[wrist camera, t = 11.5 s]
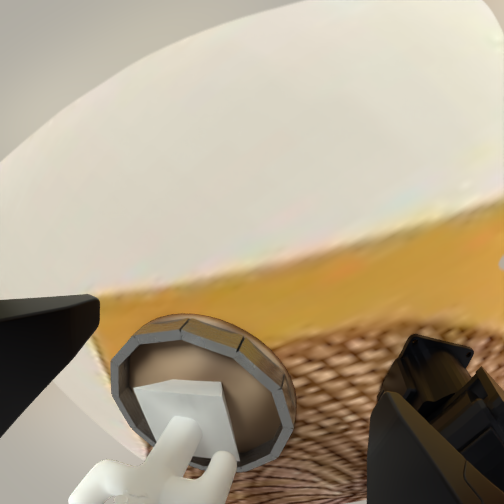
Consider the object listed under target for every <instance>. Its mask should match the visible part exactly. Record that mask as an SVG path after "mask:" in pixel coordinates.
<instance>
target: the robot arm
mask: <svg viewBox="0 0 504 504" xmlns="http://www.w3.org/2000/svg"><path fill="white" fill-rule="evenodd" d="M99 321H100V301H99V299H98V298H96V297H94V296H92V295H89V294H83V295H70V296H56V297H41V298H26V299H9V300H0V438H1V437H2V435H3V434H4V433H5V432H6V431H7V430H8V429H9V427H10V426H11V425H12V424H13V423H14V422H15V421H16V419H17V418H18V417H19V416H20V415H21V414H22V413H23V412H24V410H25V409H26V408H27V407H28V406H29V405H30V404H31V403H32V402H33V401H34V400H35V398H36V397H37V396H38V395H39V394H40V393H41V392H42V391H43V390H44V389H45V388H46V387H47V385H49V383H50V382H51V381H52V380H53V379H54V378H55V377H56V376H57V375H58V374H59V373H60V372H61V371H62V370H63V369H64V368H65V367H66V366H67V365H68V364H69V363H70V361H71V360H72V359H73V358H74V357H75V356H76V354H77V353H78V352H79V351H80V349H81V348H82V347H83V345H84V344H85V343H86V342H87V340H88V339H89V338H90V337H91V335H92V334H93V333H94V331H95V330H96V329H97V327H98V325H99ZM415 339H417V340H416V342H414V343H412V341H413V340H415ZM468 352H469V354H468V355H466V354H467V353H468ZM473 354H474V351H473V350H472V348H470V347H467V346H463V345H459V344H454V343H450V342H446V341H442V340H438V339H434V338H430V337H426V336H422V335H418V334H413V335H411V336H410V337H409V338H408V340H407V342H406V344H405V346H404V348H403V350H402V352H401V354H400V356H399V357H398V358H397V359H396V360H395V362H394V363H393V365H392V367H391V369H390V371H389V373H388V375H387V377H386V378H385V380H384V382H383V387H382V389H381V391H380V393H379V394H378V403H377V404H376V406H375V408H374V409H373V411H372V413H371V417H370V430H369V442H368V452H367V504H504V391H503V390H502V389H501V387H500V386H499V385H498V384H497V383H496V382H495V381H494V379H493V378H492V377H491V376H490V375H489V374H488V373H487V372H486V371H485V369H484V368H483V367H482V366H481V367H480V368H479V369H478V370H477V371H476V374H475V375H474V376H473V377H471V376H470V374H469V373H468V371H467V370H466V367H467V366H468V364H469V362H470V360H471V358H472V357H473Z"/></svg>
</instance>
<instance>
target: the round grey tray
mask: <svg viewBox="0 0 504 504" xmlns="http://www.w3.org/2000/svg"><path fill="white" fill-rule="evenodd" d="M175 340H183V341H186V342H189V343H191V344H194V345H197V346H200V347H202V348H205V349H208V350H211V351H214V352H217V353H219V354H222V355H225V356H228V357H231V358H233V359H234V360H235V361H237V362H238V363H239V364H240V365H241V366H242V367H243V368H244V369H245V370H247V371H248V372H249V373H250V374H251V375H252V376H253V377H254V378H256V379H257V380H258V381H259V382H260V383H261V384H263V385H264V386H265V387H266V388H267V389H268V390H270V391H271V393H272V396H273V399H274V402H275V405H276V408H277V411H278V414H279V417H280V420H281V423H280V425H279V427H278V430H277V432H276V434H275V436H274V438H273V439H271V440H269V441H267V442H265V443H263V444H261V445H259V446H257V447H255V448H253V449H251V450H249V451H247V452H243V453H238V454H239V458H240V461H236V462H237V469H236V472H244V471H245V472H246V471H249V470H251V469H254V468H256V467H258V466H261V465H263V464H266V463H268V462H270V461H272V460H275V459H277V457H279V455H280V454H281V452H282V450H283V448H284V446H285V444H286V443H287V441H288V439H289V437H290V435H291V433H292V431H293V429H294V423H295V416H296V410H295V406H294V403H293V399H292V396H291V392H290V389H289V385H288V382H287V378H286V375H285V374H284V371H283V370H282V369H280V368H279V367H278V366H277V365H276V364H275V363H274V362H273V361H272V360H270V359H269V358H268V357H267V356H266V355H265V354H264V353H263V352H262V351H261V350H260V349H258V348H257V347H256V346H255V345H254V344H253V343H252V342H251V341H250V340H249V339H248V338H247V337H244V338H243V335H241V334H238V333H235V332H232V331H229V330H226V329H223V328H220V327H217V326H214V325H211V324H208V323H205V322H202V321H199V320H197V319H194V318H191V319H190V318H184V319H178V320H171V321H165V322H158V323H151V324H146V325H144V326H143V327H142V328H141V329H140V330H139V331H138V332H136V333H135V334H134V335H133V336H132V337H131V338H130V339H129V340H128V342H127V343H126V344H125V345H124V346H123V347H122V348H121V350H120V351H119V352H118V353H117V354H116V355H115V356H114V357H113V359H112V360H111V394H112V397H113V398H114V400H115V402H116V404H117V405H118V407H119V409H120V411H121V412H122V414H123V416H124V417H125V419H126V421H127V422H128V424H129V426H130V427H131V428H132V430H134V431H135V432H136V433H137V434H138V435H139V436H141V437H142V438H143V439H144V440H145V441H147V442H148V443H149V444H150V445H152V446H153V447H154V446H155V444H156V443H157V442H156V440H155V438H154V435H153V433H152V431H151V429H150V427H149V425H148V422H147V420H146V418H145V416H144V413H143V411H142V409H141V406H140V404H139V403H138V401H137V399H136V397H135V395H134V393H133V391H132V390H131V388H130V386H129V378H130V355H131V354H132V353H133V352H134V351H135V350H136V349H137V348H138V346H139V345H140V344H148V343H157V342H166V341H175ZM210 461H211V458H203V457H196V456H193V457H192V459H191V461H190V463H189V465H190V466H192V467H195V468H198V469H201V470H203V469H204V470H205V471H206V469H207V468H208V466H209V463H210Z"/></svg>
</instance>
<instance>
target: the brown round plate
mask: <svg viewBox="0 0 504 504" xmlns="http://www.w3.org/2000/svg"><path fill="white" fill-rule="evenodd" d="M184 318H190V319H191V318H194V319H197V320H199V321H202V322H205V323H208V324H211V325H214V326H217V327H220V328H223V329H226V330H229V331H232V332H235V333H238V334H241V335H243V338H244V337H247V338H248V339H249V340H250V341H251V342H252V343H253V344H254V345H255V346H256V347H257V348H258V349H260V350H261V351H262V352H263V353H264V354H265V355H266V356H267V357H268V358H269V359H270V360H272V361H273V362H274V363H275V364H276V365H277V366H278V367H279V368H280V369H282V370H283V371H284V374H285V375H286V378H287V382H288V385H289V389H290V392H291V396H292V399H293V403H294V406H295V410H296V394H295V388H294V385H293V382H292V380H291V377H290V375H289V373H288V371H287V370H286V368H285V366H284V365H283V364H282V362H281V361H280V360H279V358H278V357H277V356H276V355H275V354H274V353H273V352H272V351H271V350H270V349H269V348H268V347H267V346H266V345H265V344H264V343H262V342H261V341H260V340H259V339H257V338H256V337H254V336H253V335H251V334H250V333H248V332H247V331H245V330H243V329H241V328H239V327H237V326H235V325H233V324H230V323H228V322H225V321H223V320H220V319H216V318H213V317H209V316H204V315H197V314H172V315H167V316H163V317H159V318H157V319H155V320H152V321H150V322H149V323H147V324H151V323H158V322H165V321H171V320H178V319H184ZM145 325H146V324H145ZM142 327H143V326H142ZM142 327H141V328H142ZM141 328H140V329H141ZM140 329H139V330H140ZM139 330H138V331H139ZM138 331H137V332H138ZM132 336H133V335H132ZM172 379H176V380H191V381H211V382H221V384H222V388H223V392H224V396H225V400H226V404H227V407H228V411H229V415H230V419H231V423H232V428H233V432H234V437H235V441H236V445H237V450H238V453H243V452H247V451H249V450H251V449H253V448H255V447H257V446H259V445H261V444H263V443H265V442H267V441H269V440H271V439H273V438H274V436H275V434H276V432H277V430H278V427H279V425H280V423H281V420H280V417H279V414H278V411H277V408H276V405H275V402H274V399H273V396H272V393H271V391H270V390H268V389H267V388H266V387H265V386H264V385H263V384H261V383H260V382H259V381H258V380H257V379H256V378H254V377H253V376H252V375H251V374H250V373H249V372H248V371H247V370H245V369H244V368H243V367H242V366H241V365H240V364H239V363H238V362H237V361H235V360H234V359H233V358H231V357H228V356H225V355H222V354H219V353H217V352H214V351H211V350H208V349H205V348H202V347H200V346H197V345H194V344H191V343H189V342H186V341H183V340H175V341H166V342H157V343H148V344H140V345H139V346H138V348H137V349H136V350H135V351H134V352H133V353H132V354H131V355H130V378H129V386H130V388H131V390H132V391H133V393H134V395H135V397H136V394H135V392H134V389H133V388H135V387H140V386H145V385H150V384H154V383H159V382H163V381H168V380H172ZM136 399H137V397H136ZM137 401H138V399H137ZM138 403H139V402H138Z"/></svg>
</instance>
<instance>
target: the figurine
mask: <svg viewBox="0 0 504 504" xmlns="http://www.w3.org/2000/svg"><path fill="white" fill-rule="evenodd" d="M133 389H134V392H135V394H136V397H137V399H138V402H139V404H140V406H141V409H142V411H143V413H144V416H145V418H146V420H147V422H148V425H149V427H150V429H151V431H152V433H153V435H154V438H155V440H156V442H157V443H156V444H155V446H154V447H153V449H152V451H151V452H150V454H149V455H148V457H147V458H146V460H145V461H144V463H142V464H141V465H139V466H132V465H128V464H124V463H121V462H118V461H115V460H108V459H107V460H102V461H100V462H98V463H97V464H96V465H95V466H94V467H93V468H92V469H91V470H90V471H89V472H88V474H87V475H86V476H85V477H84V479H83V480H82V481H81V482H80V484H79V485H78V486H77V487H76V489H75V490H74V491H73V492H72V494H71V495H70V497H69V499H68V503H69V504H104V503H105V502H106V501H107V500H108V499H109V498H111V497H112V496H116V497H115V498H114V503H115V504H225V502H226V499H227V496H228V493H229V491H230V488H231V485H232V482H233V479H234V476H235V473H236V469H237V462H236V461H240V458H239V454H238V450H237V445H236V441H235V437H234V432H233V428H232V423H231V419H230V415H229V411H228V407H227V404H226V400H225V396H224V392H223V388H222V384H221V382H211V381H191V380H176V379H172V380H168V381H163V382H159V383H154V384H150V385H145V386H140V387H135V388H133ZM193 456H196V457H203V458H211V461H210V463H209V466H208V468H207V469H206V471H205V472H204V474H203V475H202V476H201V477H199V478H198V479H188V478H183V475H184V473H185V471H186V469H187V467H188V465H189V463H190V461H191V459H192V457H193Z"/></svg>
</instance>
